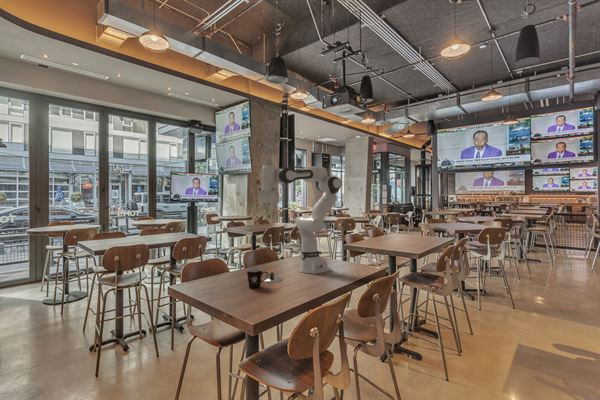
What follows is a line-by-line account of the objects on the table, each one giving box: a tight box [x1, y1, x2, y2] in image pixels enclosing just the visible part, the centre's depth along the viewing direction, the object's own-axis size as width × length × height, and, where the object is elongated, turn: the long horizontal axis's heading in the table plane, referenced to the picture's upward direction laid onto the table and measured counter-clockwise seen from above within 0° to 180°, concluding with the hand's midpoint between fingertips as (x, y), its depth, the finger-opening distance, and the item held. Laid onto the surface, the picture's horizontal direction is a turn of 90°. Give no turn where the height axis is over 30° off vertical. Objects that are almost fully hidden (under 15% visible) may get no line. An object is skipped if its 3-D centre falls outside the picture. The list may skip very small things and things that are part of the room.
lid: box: [261, 271, 282, 284], centre depth 189 cm, size 12×12×5 cm
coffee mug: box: [246, 267, 269, 290], centre depth 174 cm, size 12×9×10 cm
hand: (269, 209), depth 195 cm, fingers open, 8 cm apart
